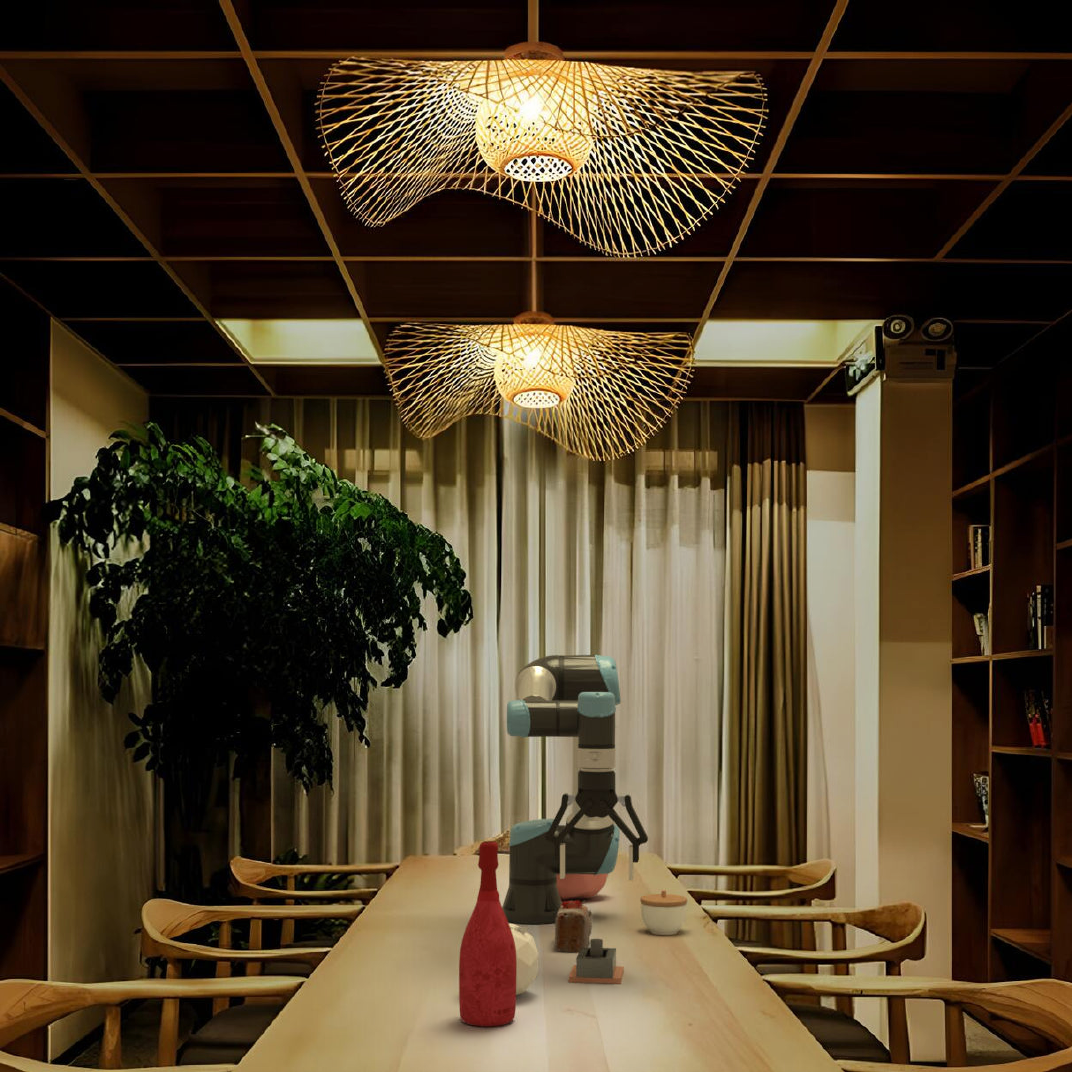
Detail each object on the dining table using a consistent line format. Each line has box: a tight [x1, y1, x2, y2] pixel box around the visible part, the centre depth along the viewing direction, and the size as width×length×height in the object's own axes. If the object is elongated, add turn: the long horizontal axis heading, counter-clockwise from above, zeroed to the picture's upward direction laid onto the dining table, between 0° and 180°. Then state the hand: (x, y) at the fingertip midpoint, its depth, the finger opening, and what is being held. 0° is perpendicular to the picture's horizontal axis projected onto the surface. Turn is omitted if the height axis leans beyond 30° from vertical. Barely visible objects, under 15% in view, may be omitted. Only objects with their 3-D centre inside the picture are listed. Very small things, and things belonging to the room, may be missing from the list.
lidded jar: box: [640, 889, 688, 936], centre depth 288 cm, size 11×11×9 cm
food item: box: [554, 899, 593, 953], centre depth 273 cm, size 14×8×10 cm, turn 176°
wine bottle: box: [458, 840, 517, 1028], centre depth 215 cm, size 10×10×30 cm
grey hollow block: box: [575, 946, 617, 978], centre depth 245 cm, size 10×7×4 cm
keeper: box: [568, 938, 625, 985], centre depth 245 cm, size 10×10×7 cm
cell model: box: [557, 873, 610, 901], centre depth 331 cm, size 17×20×11 cm
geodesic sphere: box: [509, 923, 539, 996], centre depth 231 cm, size 14×14×14 cm
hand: (596, 878), depth 247 cm, fingers open, 13 cm apart
